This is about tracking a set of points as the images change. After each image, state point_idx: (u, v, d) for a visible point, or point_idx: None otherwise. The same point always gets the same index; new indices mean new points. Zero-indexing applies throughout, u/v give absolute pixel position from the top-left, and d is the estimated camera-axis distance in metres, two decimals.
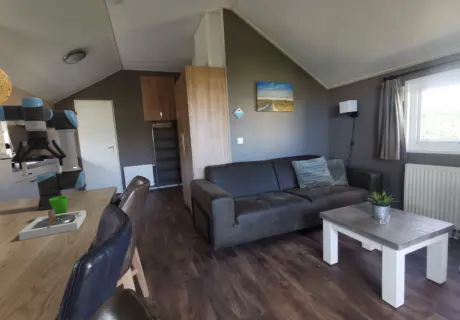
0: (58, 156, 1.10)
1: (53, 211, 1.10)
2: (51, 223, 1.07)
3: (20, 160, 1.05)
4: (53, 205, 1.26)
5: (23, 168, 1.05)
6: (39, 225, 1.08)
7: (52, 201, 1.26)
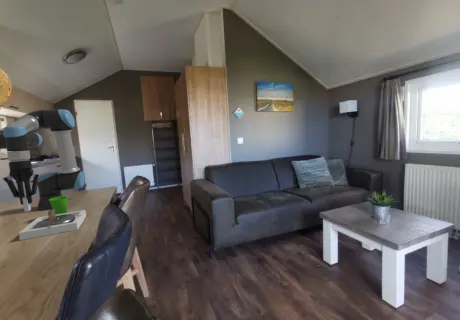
0: (28, 193, 1.03)
1: (53, 211, 1.10)
2: (51, 223, 1.07)
3: (20, 195, 1.02)
4: (53, 205, 1.26)
5: (24, 203, 1.02)
6: (39, 225, 1.08)
7: (52, 201, 1.26)
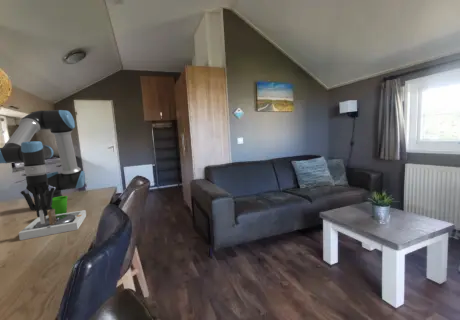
0: (44, 206, 1.05)
1: (53, 211, 1.10)
2: (51, 223, 1.07)
3: (37, 208, 1.04)
4: (53, 205, 1.26)
5: (40, 216, 1.05)
6: (39, 225, 1.08)
7: (52, 201, 1.26)
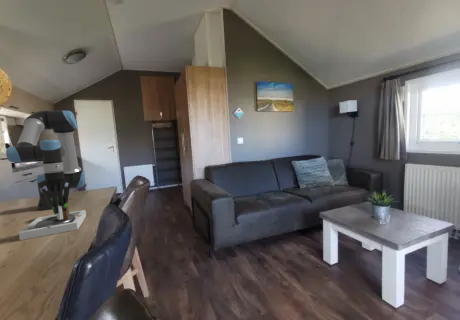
0: (63, 202, 1.10)
1: None
2: (69, 218, 1.13)
3: (56, 204, 1.08)
4: None
5: (60, 212, 1.09)
6: (54, 224, 1.08)
7: None
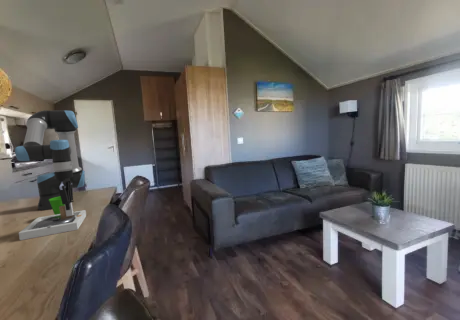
0: (71, 199, 1.16)
1: None
2: None
3: (69, 201, 1.13)
4: (53, 205, 1.26)
5: (71, 208, 1.15)
6: (68, 220, 1.13)
7: (52, 201, 1.26)
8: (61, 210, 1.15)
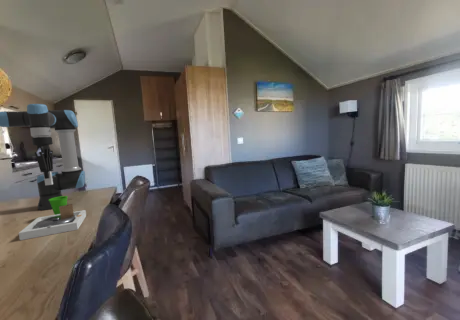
0: (51, 167, 1.11)
1: None
2: (73, 214, 1.19)
3: (48, 169, 1.09)
4: (53, 205, 1.26)
5: (51, 177, 1.10)
6: (68, 220, 1.13)
7: (52, 201, 1.26)
8: (61, 210, 1.15)
